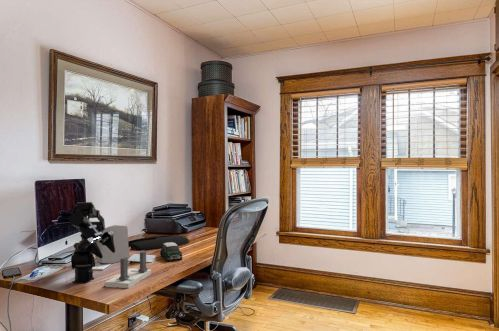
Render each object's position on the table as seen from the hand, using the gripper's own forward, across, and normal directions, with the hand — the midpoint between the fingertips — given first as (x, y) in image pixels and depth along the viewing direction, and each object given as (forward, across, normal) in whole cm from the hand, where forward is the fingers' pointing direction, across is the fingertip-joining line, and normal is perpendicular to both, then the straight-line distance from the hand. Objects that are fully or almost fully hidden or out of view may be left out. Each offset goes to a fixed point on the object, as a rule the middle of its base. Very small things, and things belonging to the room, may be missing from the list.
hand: (108, 255), depth 144 cm
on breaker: (+14, -13, 0) cm, 19 cm away
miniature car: (+16, -46, -2) cm, 49 cm away
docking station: (+2, -77, -18) cm, 79 cm away
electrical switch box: (-6, -36, -25) cm, 44 cm away
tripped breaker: (+12, -1, -2) cm, 12 cm away
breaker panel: (+13, -6, -4) cm, 15 cm away
